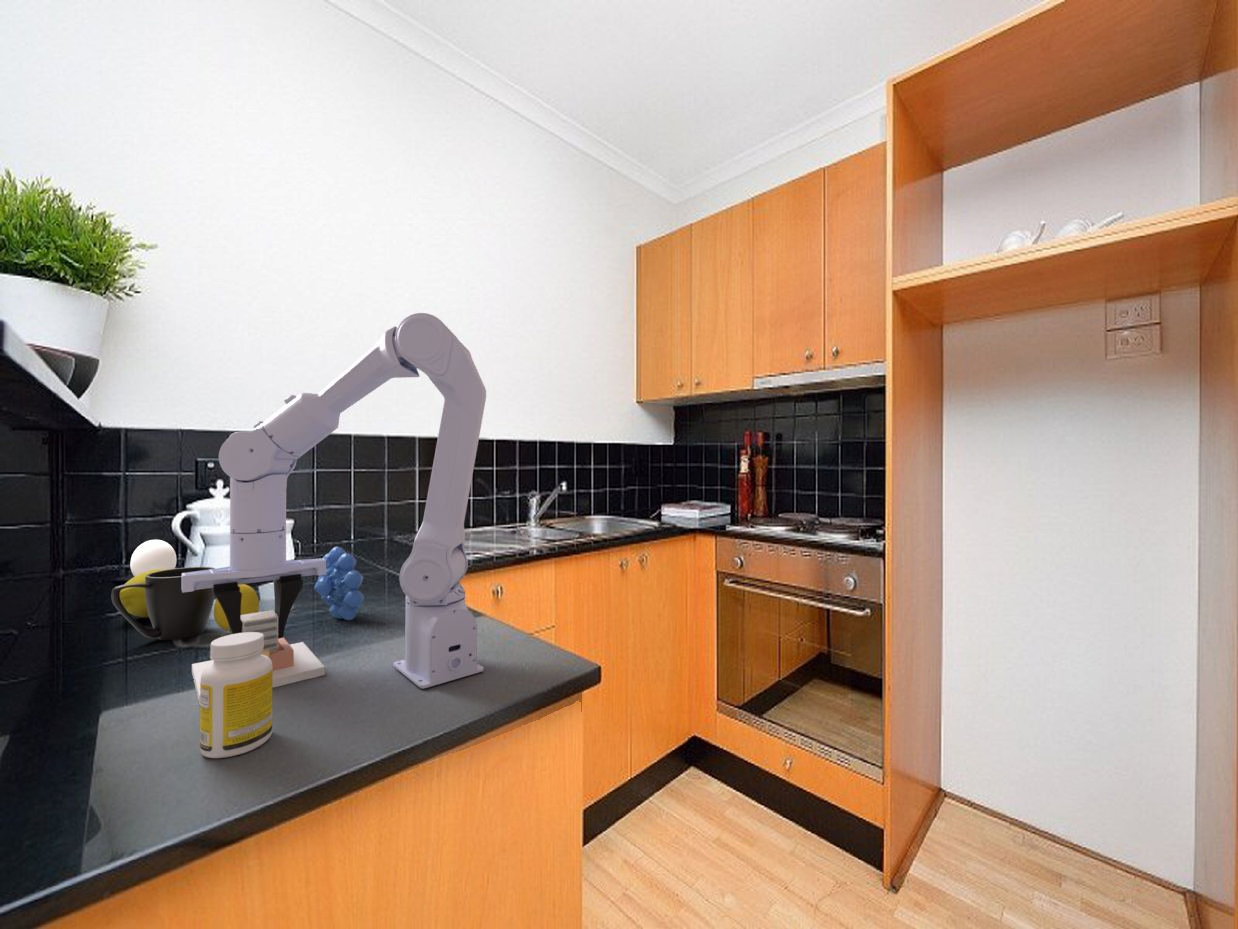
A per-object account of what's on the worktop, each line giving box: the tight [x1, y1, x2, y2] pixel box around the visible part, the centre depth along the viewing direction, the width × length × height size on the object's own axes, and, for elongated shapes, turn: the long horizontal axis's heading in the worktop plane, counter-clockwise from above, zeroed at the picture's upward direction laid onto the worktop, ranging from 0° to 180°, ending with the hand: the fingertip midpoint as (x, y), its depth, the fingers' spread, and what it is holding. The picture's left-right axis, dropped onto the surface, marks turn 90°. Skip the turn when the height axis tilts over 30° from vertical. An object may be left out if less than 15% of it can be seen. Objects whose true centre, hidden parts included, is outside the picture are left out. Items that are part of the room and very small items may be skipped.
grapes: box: [313, 546, 365, 621], centre depth 86 cm, size 12×7×12 cm, turn 55°
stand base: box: [191, 636, 326, 705], centre depth 64 cm, size 12×12×4 cm
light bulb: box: [129, 539, 178, 577], centre depth 101 cm, size 7×7×11 cm
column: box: [240, 609, 278, 653], centre depth 64 cm, size 4×4×6 cm
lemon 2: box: [213, 584, 260, 632], centre depth 78 cm, size 6×6×8 cm
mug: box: [110, 566, 216, 641], centre depth 77 cm, size 8×12×10 cm
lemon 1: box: [120, 569, 168, 619], centre depth 87 cm, size 11×8×8 cm
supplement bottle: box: [199, 632, 274, 759], centre depth 48 cm, size 5×5×10 cm
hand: (258, 640), depth 64 cm, fingers closed on column, 4 cm apart
